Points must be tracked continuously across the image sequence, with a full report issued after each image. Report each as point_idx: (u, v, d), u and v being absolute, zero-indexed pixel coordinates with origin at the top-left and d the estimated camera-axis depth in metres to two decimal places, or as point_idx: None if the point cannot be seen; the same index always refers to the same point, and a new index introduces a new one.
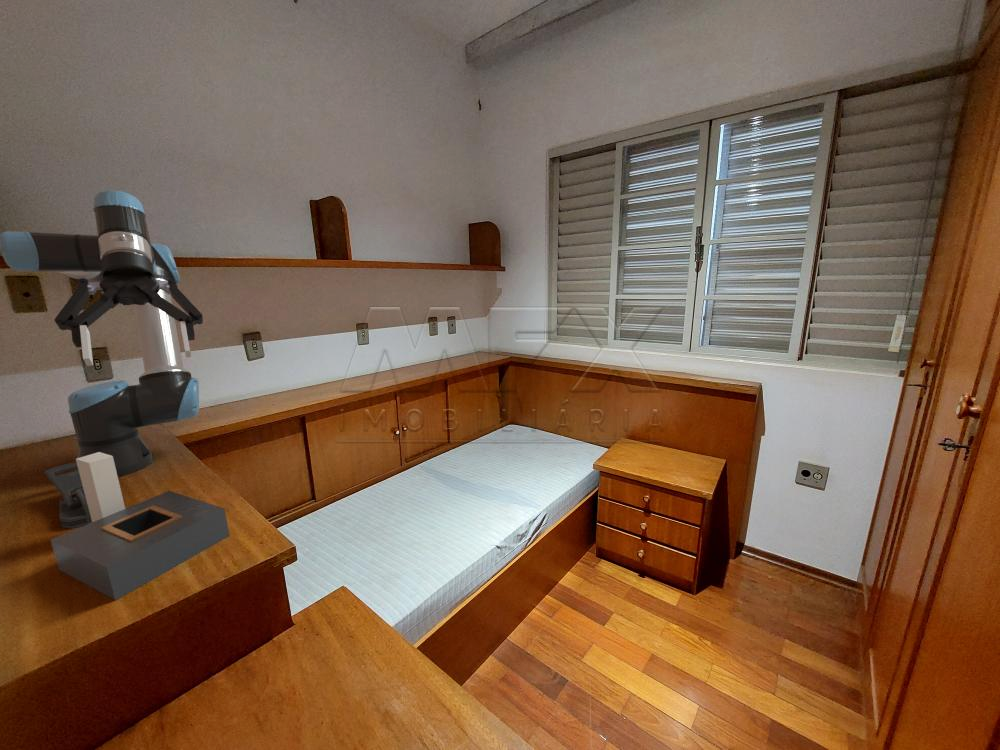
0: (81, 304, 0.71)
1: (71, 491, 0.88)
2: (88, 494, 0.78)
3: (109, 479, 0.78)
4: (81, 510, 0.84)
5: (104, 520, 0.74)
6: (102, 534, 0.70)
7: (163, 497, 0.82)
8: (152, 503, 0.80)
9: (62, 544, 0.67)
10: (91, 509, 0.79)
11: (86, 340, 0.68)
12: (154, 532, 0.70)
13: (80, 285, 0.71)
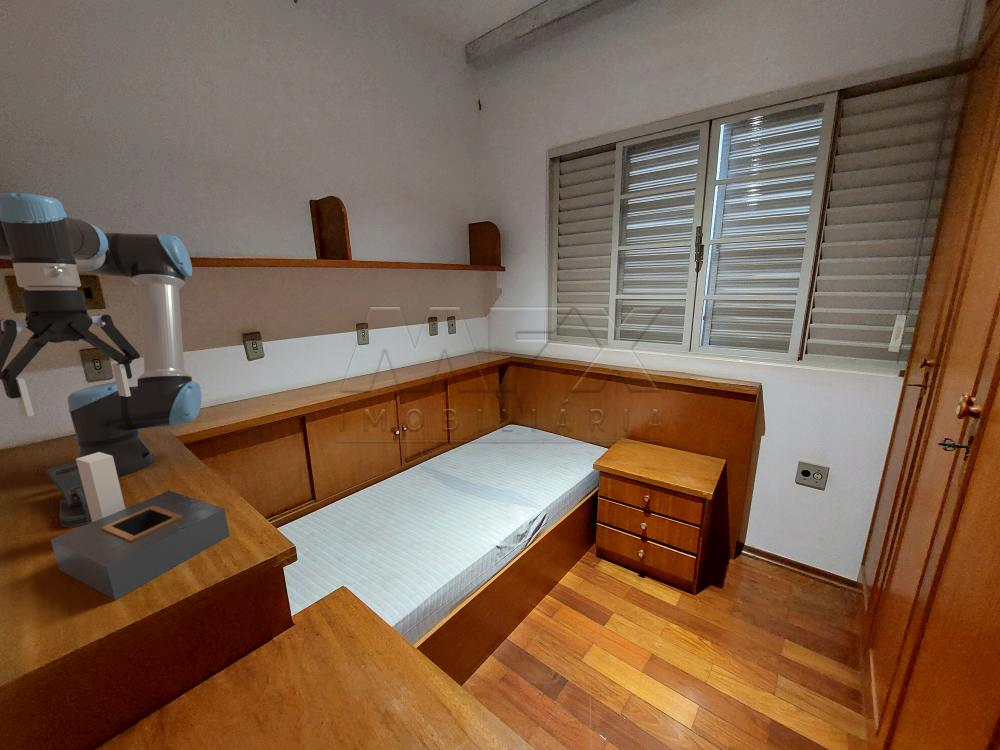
0: None
1: (71, 490, 0.89)
2: (88, 494, 0.78)
3: (109, 479, 0.78)
4: (81, 509, 0.85)
5: (104, 520, 0.74)
6: (102, 534, 0.70)
7: (163, 497, 0.82)
8: (152, 503, 0.80)
9: (62, 544, 0.67)
10: (91, 509, 0.79)
11: (28, 396, 0.68)
12: (154, 532, 0.70)
13: (8, 329, 0.65)
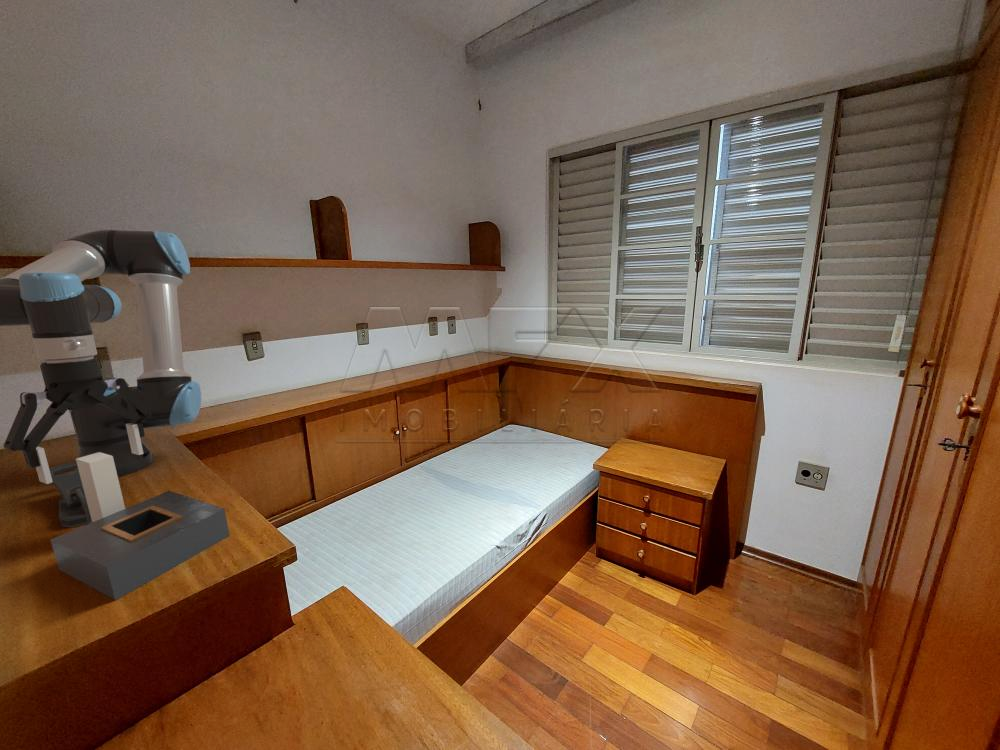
0: None
1: (70, 490, 0.89)
2: (88, 494, 0.78)
3: (109, 479, 0.78)
4: (80, 509, 0.85)
5: (104, 520, 0.74)
6: (102, 534, 0.70)
7: (163, 497, 0.82)
8: (152, 503, 0.80)
9: (62, 544, 0.67)
10: (91, 509, 0.79)
11: (47, 464, 0.71)
12: (154, 532, 0.70)
13: (29, 402, 0.68)
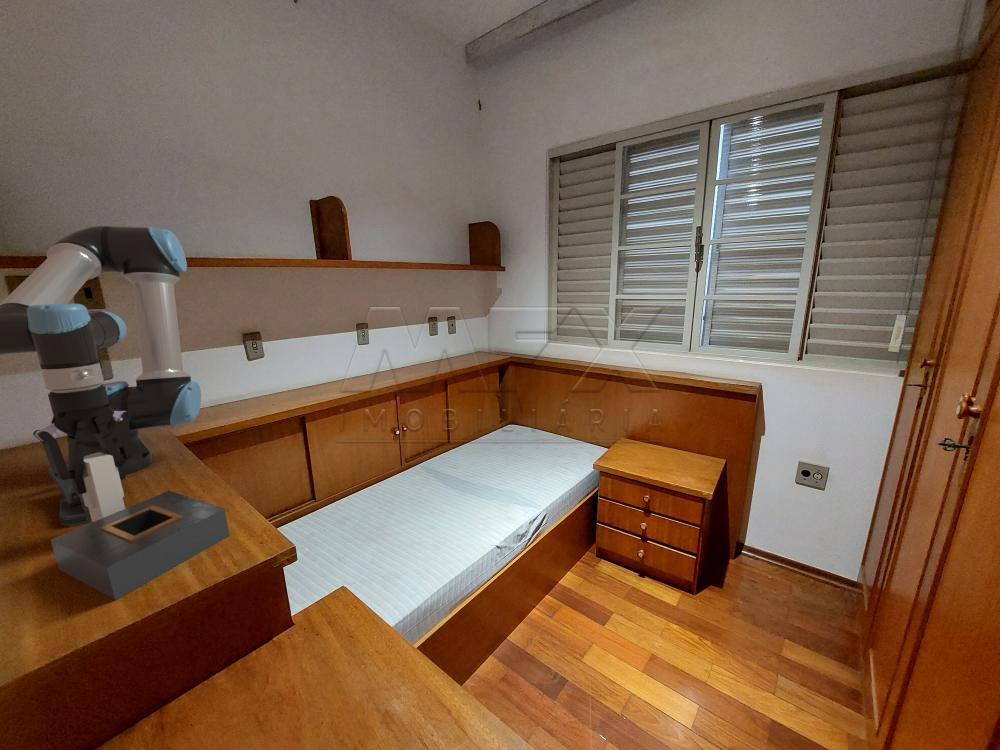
0: None
1: (72, 489, 0.89)
2: None
3: (109, 479, 0.78)
4: (81, 508, 0.85)
5: (104, 520, 0.74)
6: (102, 534, 0.70)
7: (163, 497, 0.82)
8: (152, 503, 0.80)
9: (62, 544, 0.67)
10: (91, 509, 0.79)
11: (92, 490, 0.77)
12: (154, 532, 0.70)
13: (47, 440, 0.71)
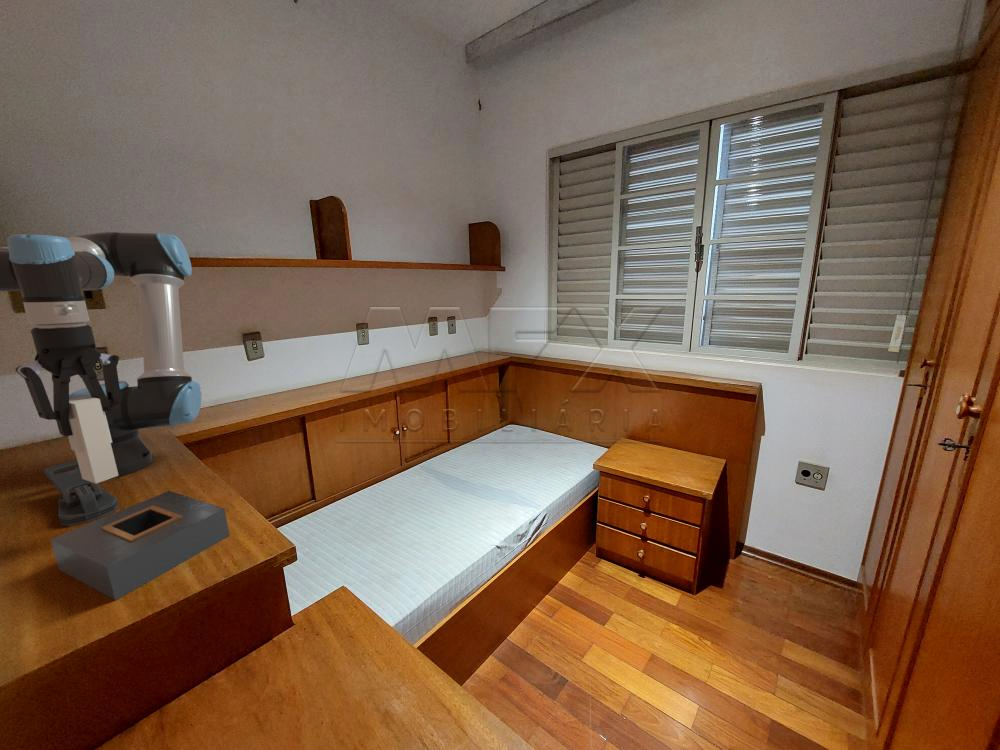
0: None
1: (70, 489, 0.89)
2: None
3: (96, 422, 0.76)
4: (80, 508, 0.85)
5: (104, 520, 0.74)
6: (102, 534, 0.70)
7: (163, 497, 0.82)
8: (152, 503, 0.80)
9: (62, 544, 0.67)
10: (78, 453, 0.77)
11: (78, 433, 0.74)
12: (154, 532, 0.70)
13: (30, 376, 0.68)
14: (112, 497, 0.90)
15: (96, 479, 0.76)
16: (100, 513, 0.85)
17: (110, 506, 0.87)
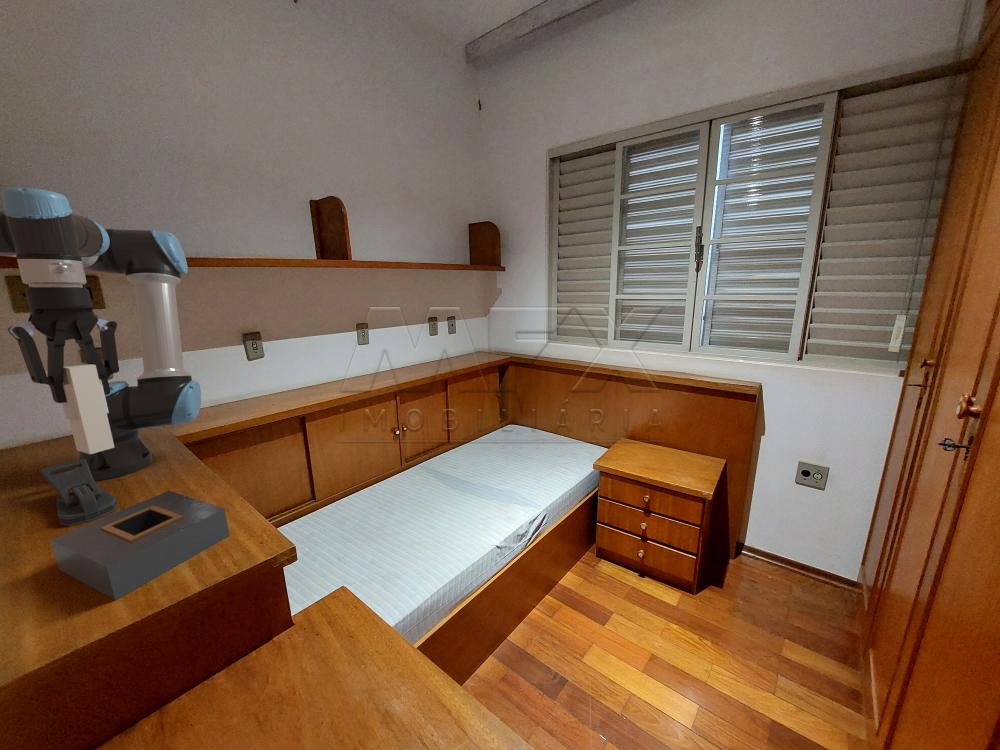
0: None
1: (68, 490, 0.89)
2: None
3: (91, 389, 0.72)
4: (79, 508, 0.85)
5: (104, 520, 0.74)
6: (102, 534, 0.70)
7: (163, 497, 0.82)
8: (152, 503, 0.80)
9: (62, 544, 0.67)
10: (72, 423, 0.73)
11: (73, 400, 0.71)
12: (154, 532, 0.70)
13: (22, 336, 0.65)
14: (111, 497, 0.90)
15: (90, 449, 0.73)
16: (100, 513, 0.86)
17: (110, 505, 0.87)
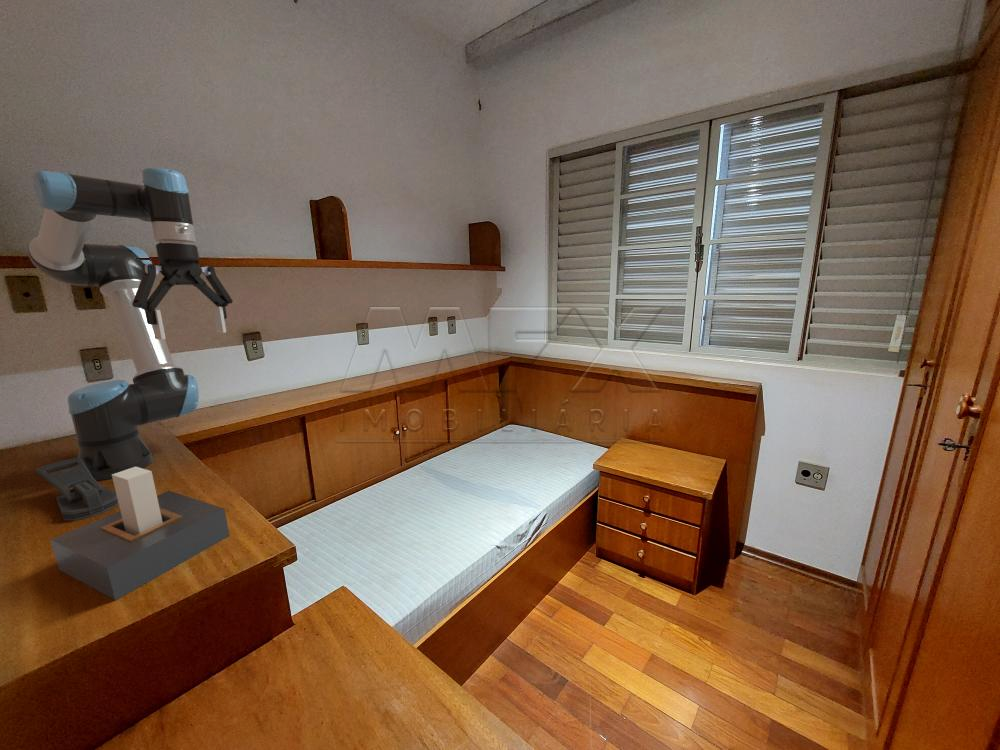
0: None
1: (68, 486, 0.91)
2: (125, 513, 0.71)
3: (147, 496, 0.71)
4: (82, 503, 0.87)
5: (104, 520, 0.74)
6: (102, 534, 0.70)
7: (163, 497, 0.82)
8: None
9: (62, 544, 0.67)
10: (127, 529, 0.72)
11: (162, 323, 0.89)
12: (154, 532, 0.70)
13: (151, 271, 0.87)
14: (113, 492, 0.92)
15: None
16: (103, 507, 0.88)
17: (113, 500, 0.89)
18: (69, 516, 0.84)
